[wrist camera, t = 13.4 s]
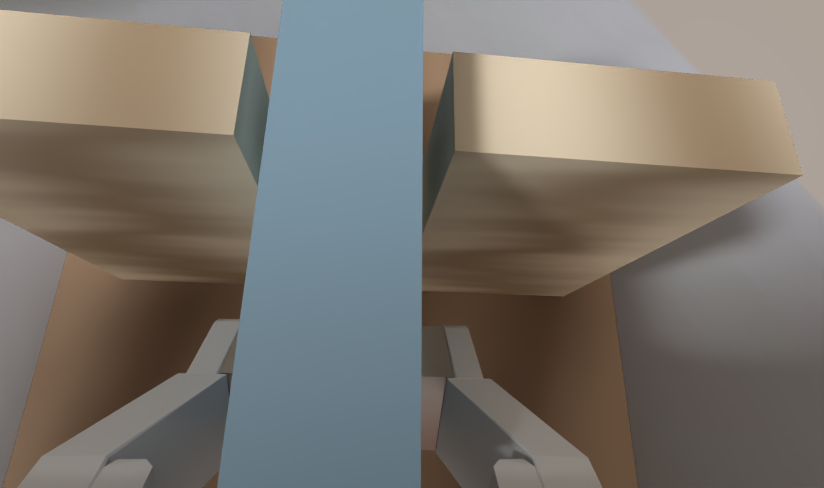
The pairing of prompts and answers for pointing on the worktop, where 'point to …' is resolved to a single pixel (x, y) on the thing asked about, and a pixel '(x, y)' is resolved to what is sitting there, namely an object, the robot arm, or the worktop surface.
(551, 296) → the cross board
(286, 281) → the slotted plate
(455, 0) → the worktop surface
